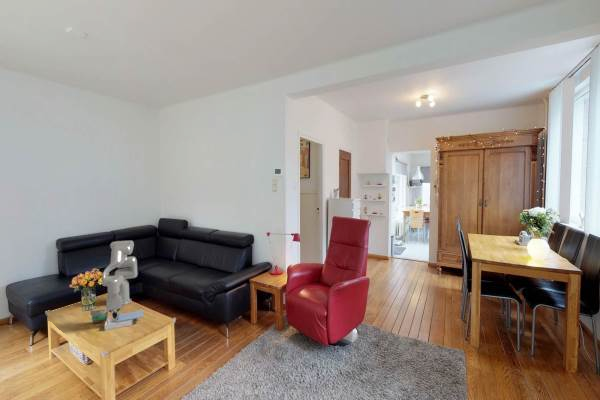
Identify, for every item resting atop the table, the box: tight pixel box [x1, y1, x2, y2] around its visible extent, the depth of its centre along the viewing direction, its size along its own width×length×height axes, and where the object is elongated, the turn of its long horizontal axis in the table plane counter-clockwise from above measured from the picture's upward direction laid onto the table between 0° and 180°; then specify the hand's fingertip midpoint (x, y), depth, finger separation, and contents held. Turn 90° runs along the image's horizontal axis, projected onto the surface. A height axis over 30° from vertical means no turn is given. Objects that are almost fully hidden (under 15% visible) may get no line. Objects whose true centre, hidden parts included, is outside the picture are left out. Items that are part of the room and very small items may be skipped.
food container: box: [90, 309, 109, 326], centre depth 214 cm, size 12×6×10 cm, turn 105°
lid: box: [116, 309, 144, 322], centre depth 216 cm, size 12×17×3 cm
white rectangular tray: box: [104, 316, 134, 332], centre depth 213 cm, size 12×17×4 cm
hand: (114, 317), depth 212 cm, fingers closed
